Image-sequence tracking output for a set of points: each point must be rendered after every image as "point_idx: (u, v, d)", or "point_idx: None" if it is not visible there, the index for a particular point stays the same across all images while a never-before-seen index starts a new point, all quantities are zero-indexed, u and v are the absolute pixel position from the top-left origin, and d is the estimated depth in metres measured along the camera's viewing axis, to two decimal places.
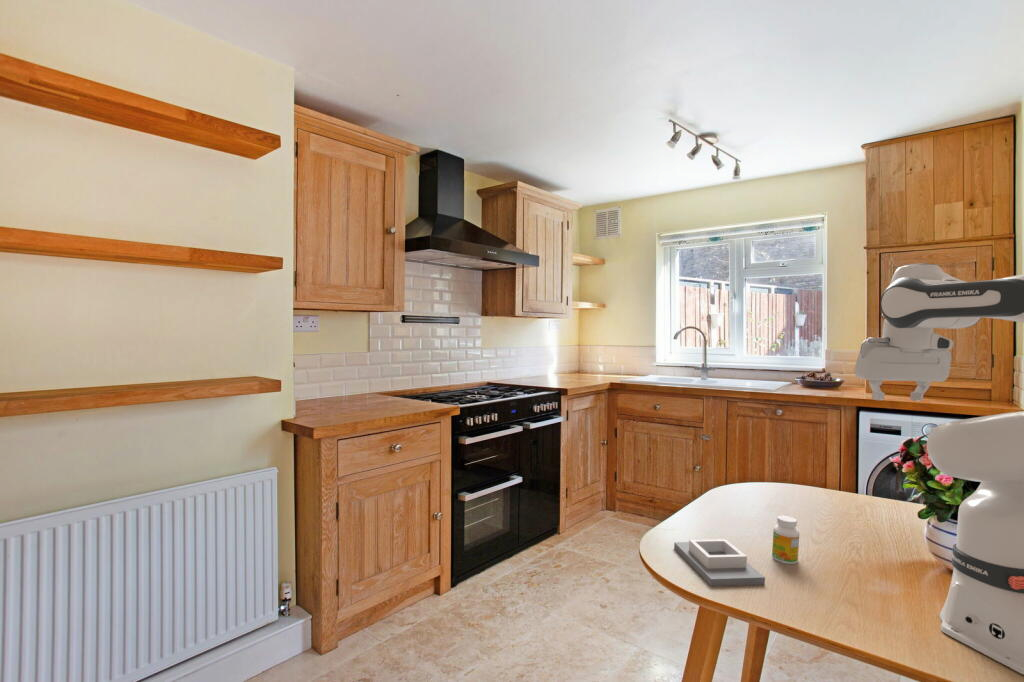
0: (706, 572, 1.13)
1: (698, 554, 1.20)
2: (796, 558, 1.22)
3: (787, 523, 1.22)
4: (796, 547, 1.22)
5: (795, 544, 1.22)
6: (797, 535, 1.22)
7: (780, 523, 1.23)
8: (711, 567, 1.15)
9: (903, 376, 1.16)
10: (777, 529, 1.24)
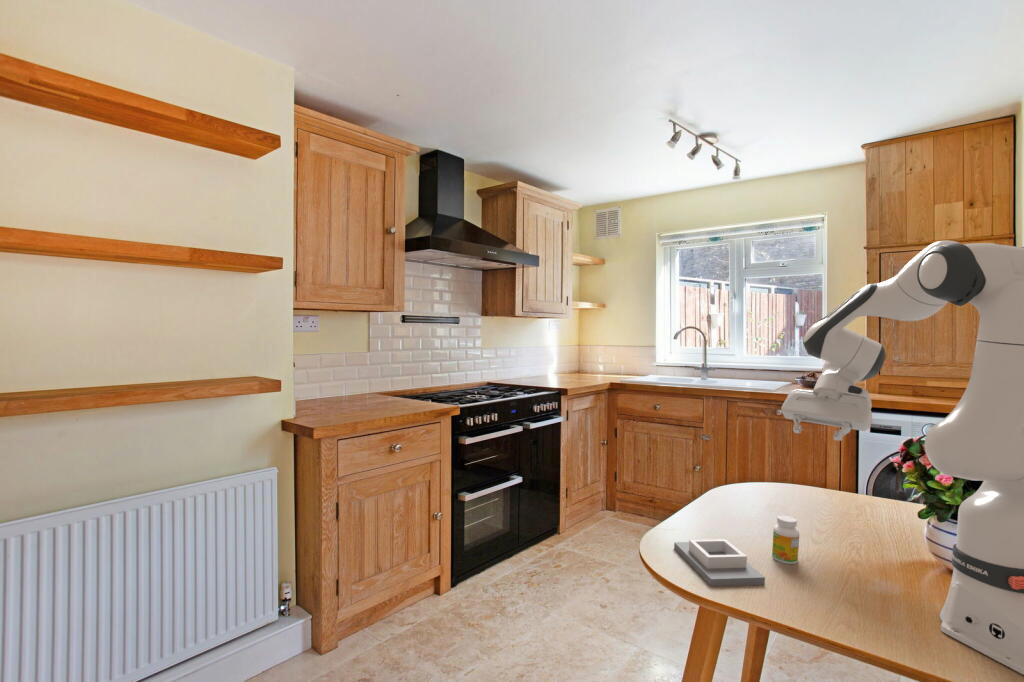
0: (706, 572, 1.13)
1: (698, 554, 1.20)
2: (796, 558, 1.22)
3: (787, 523, 1.22)
4: (796, 547, 1.22)
5: (795, 544, 1.22)
6: (797, 535, 1.22)
7: (780, 523, 1.23)
8: (711, 567, 1.15)
9: (817, 412, 1.37)
10: (777, 529, 1.24)
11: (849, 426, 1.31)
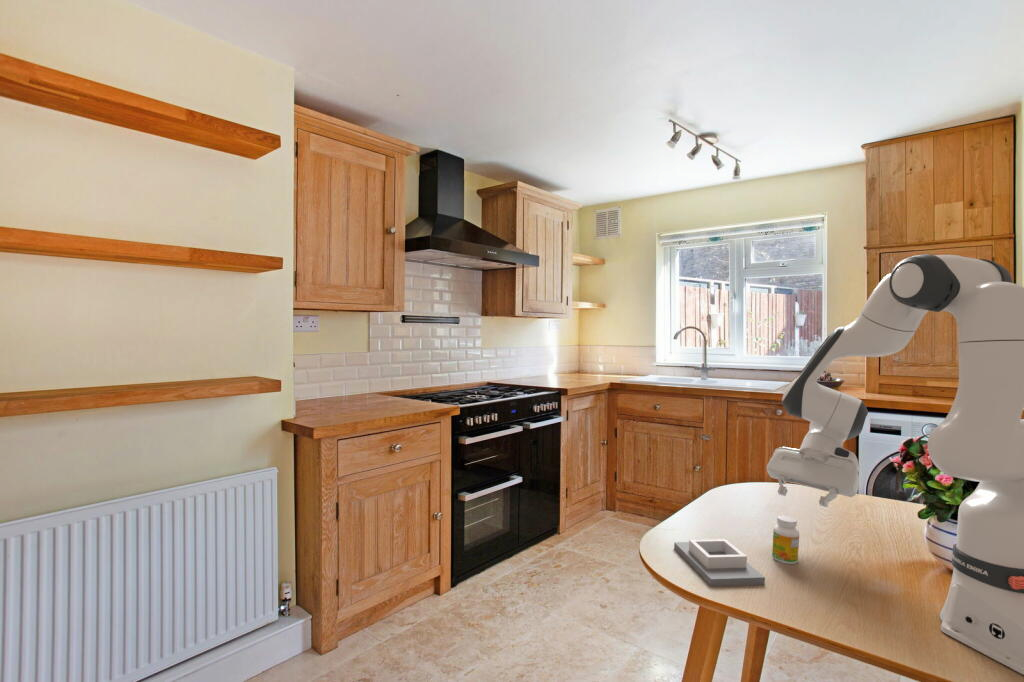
0: (706, 572, 1.13)
1: (698, 554, 1.20)
2: (796, 558, 1.22)
3: (787, 523, 1.22)
4: (796, 547, 1.22)
5: (795, 544, 1.22)
6: (797, 535, 1.22)
7: (780, 523, 1.23)
8: (711, 567, 1.15)
9: (803, 474, 1.32)
10: (777, 529, 1.24)
11: (835, 492, 1.26)
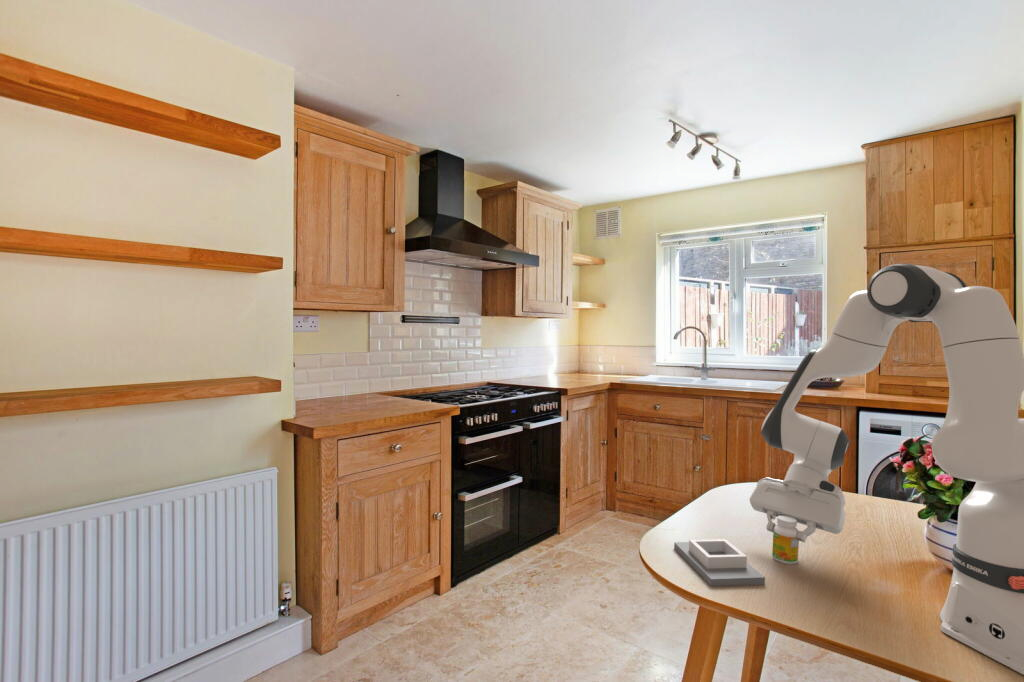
0: (706, 572, 1.13)
1: (698, 554, 1.20)
2: (796, 558, 1.22)
3: (787, 522, 1.22)
4: (796, 547, 1.22)
5: (795, 544, 1.22)
6: None
7: (780, 523, 1.23)
8: (711, 567, 1.15)
9: (786, 509, 1.26)
10: (777, 529, 1.24)
11: (814, 526, 1.21)
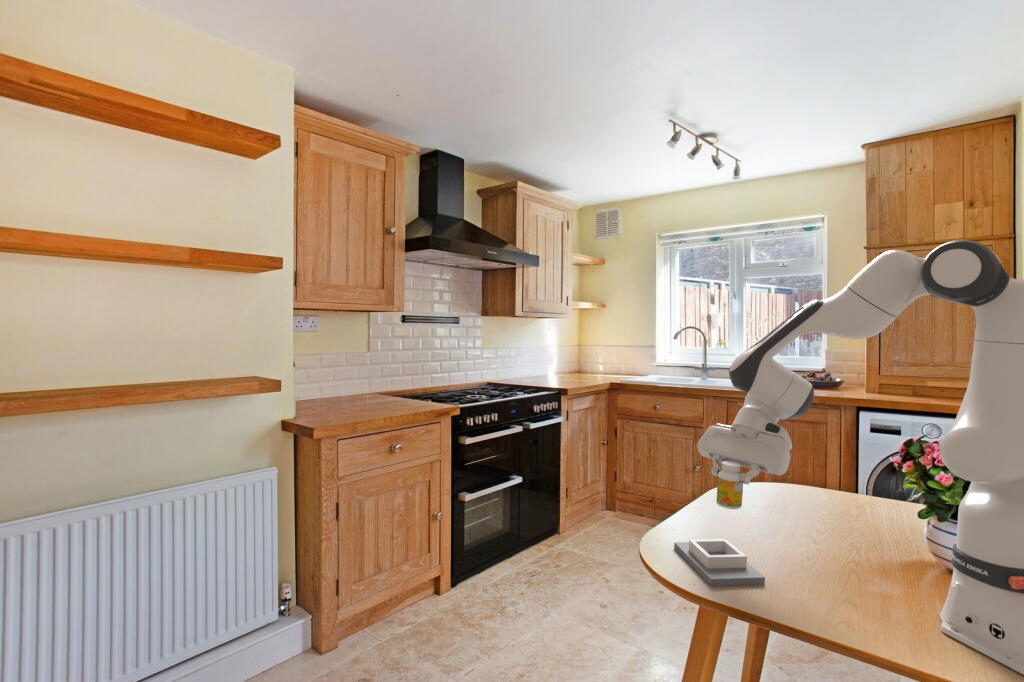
0: (706, 572, 1.13)
1: (698, 554, 1.20)
2: (739, 503, 1.19)
3: (730, 467, 1.19)
4: (739, 492, 1.18)
5: (739, 489, 1.18)
6: None
7: (724, 468, 1.20)
8: (711, 567, 1.15)
9: (732, 452, 1.22)
10: (720, 474, 1.20)
11: (757, 468, 1.18)
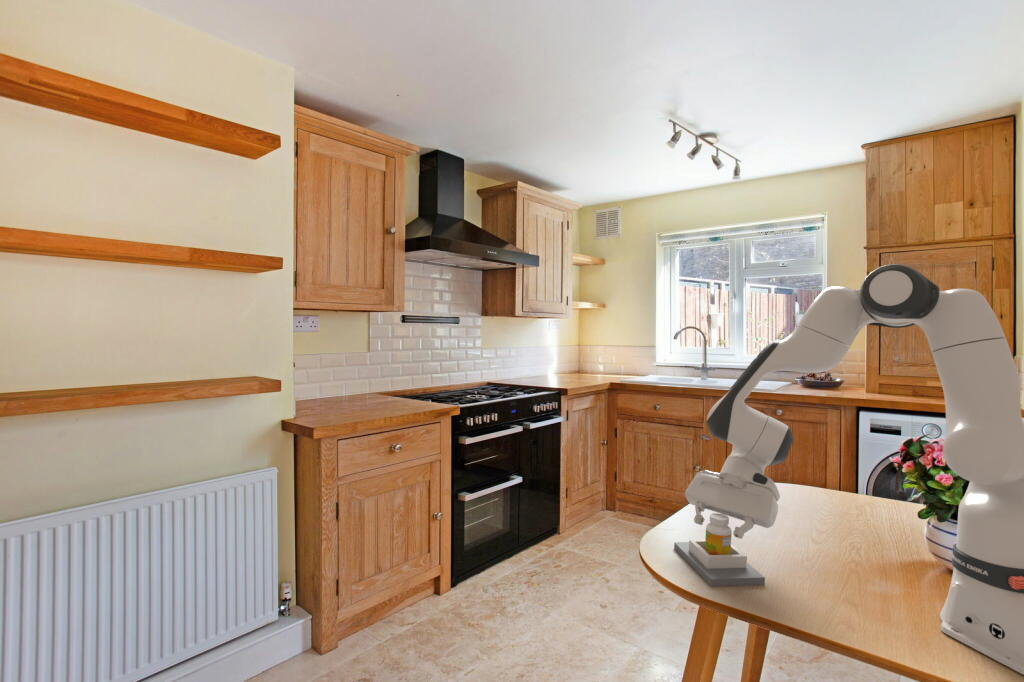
0: (706, 572, 1.13)
1: (698, 554, 1.20)
2: None
3: (719, 521, 1.18)
4: (727, 546, 1.18)
5: (727, 543, 1.18)
6: (729, 533, 1.18)
7: (712, 521, 1.19)
8: (711, 567, 1.15)
9: (719, 502, 1.22)
10: (708, 528, 1.19)
11: (751, 522, 1.16)
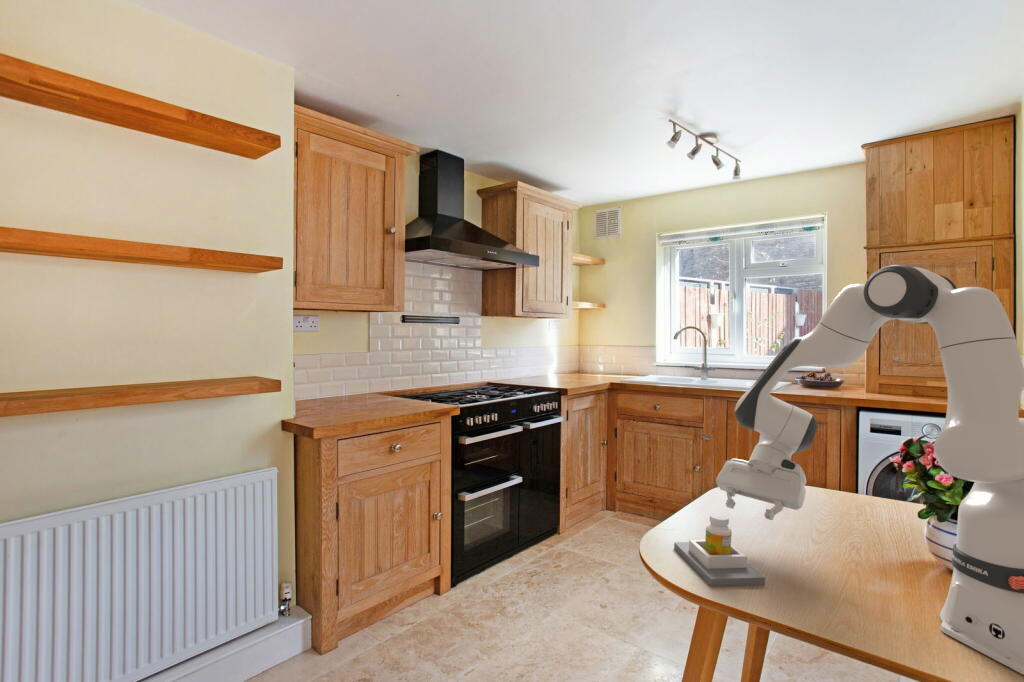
0: (706, 572, 1.13)
1: (698, 554, 1.20)
2: None
3: (719, 521, 1.18)
4: (727, 546, 1.18)
5: (727, 543, 1.18)
6: (729, 533, 1.18)
7: (712, 521, 1.19)
8: (711, 567, 1.15)
9: (750, 487, 1.30)
10: (708, 528, 1.19)
11: (781, 504, 1.25)
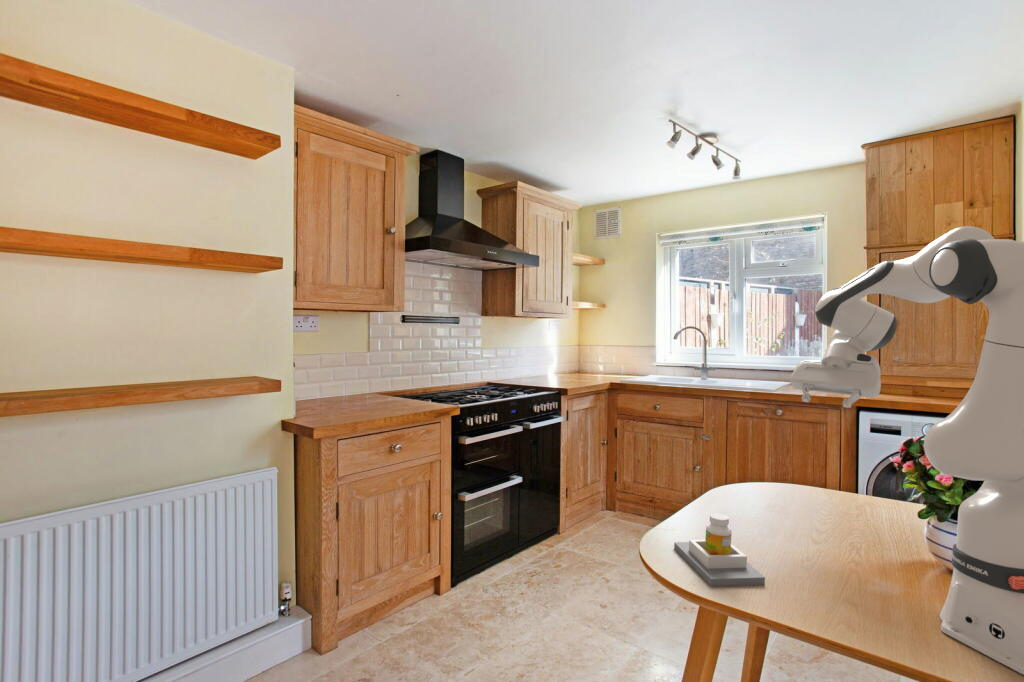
0: (706, 572, 1.13)
1: (698, 554, 1.20)
2: None
3: (719, 521, 1.18)
4: (727, 546, 1.18)
5: (727, 543, 1.18)
6: (729, 533, 1.18)
7: (712, 521, 1.19)
8: (711, 567, 1.15)
9: (826, 381, 1.37)
10: (708, 528, 1.19)
11: (858, 393, 1.31)
